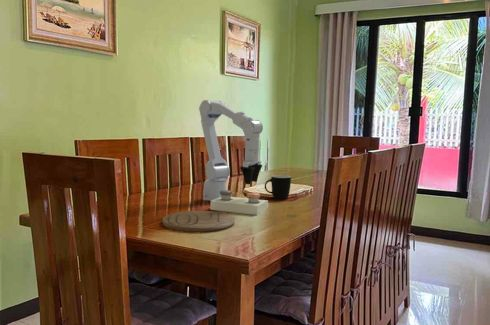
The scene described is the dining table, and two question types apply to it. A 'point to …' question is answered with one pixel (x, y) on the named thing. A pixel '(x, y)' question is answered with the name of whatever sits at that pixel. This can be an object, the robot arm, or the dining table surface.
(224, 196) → the button
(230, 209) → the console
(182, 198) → the dining table surface
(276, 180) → the mug
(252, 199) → the button
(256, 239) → the dining table surface
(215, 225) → the trivet
